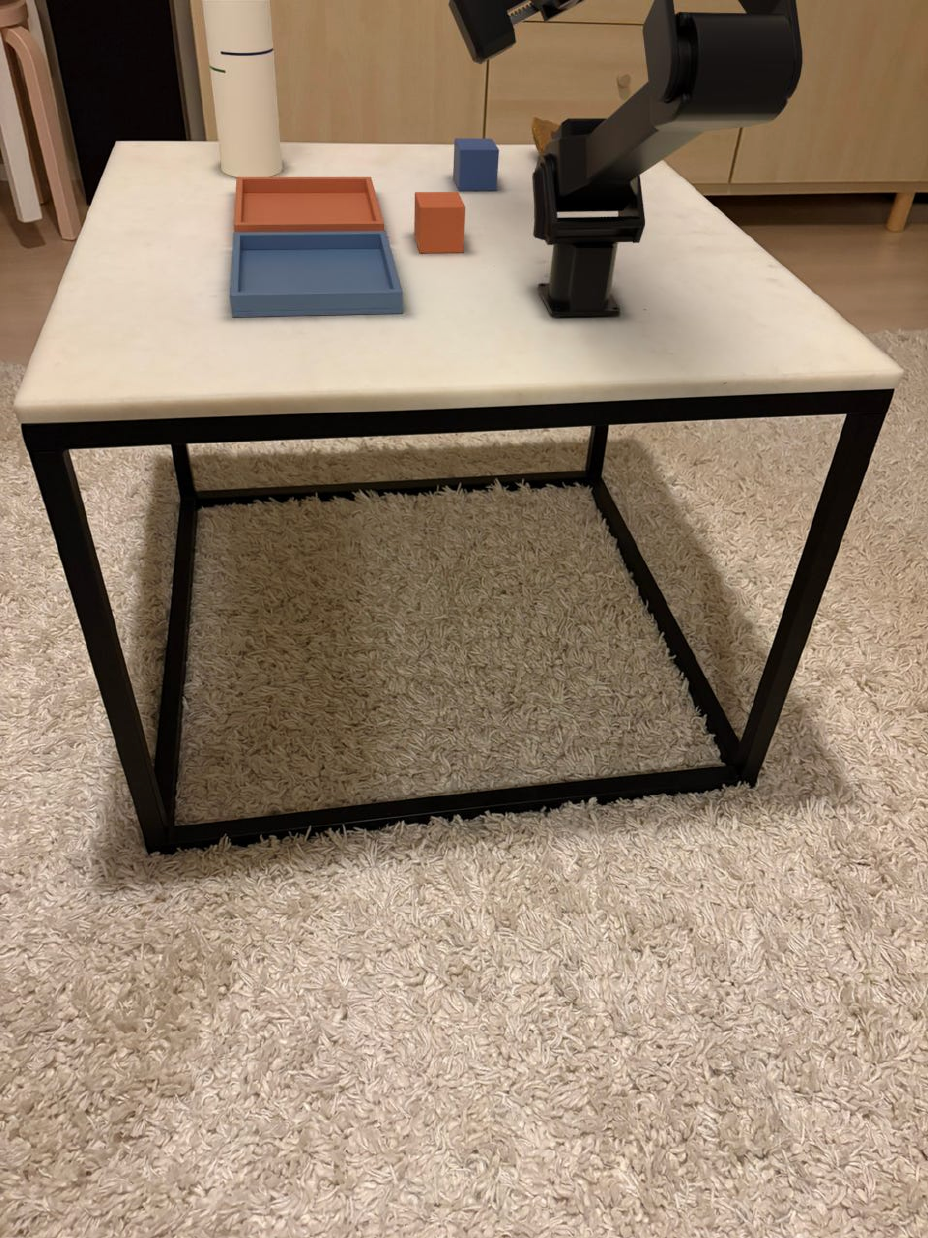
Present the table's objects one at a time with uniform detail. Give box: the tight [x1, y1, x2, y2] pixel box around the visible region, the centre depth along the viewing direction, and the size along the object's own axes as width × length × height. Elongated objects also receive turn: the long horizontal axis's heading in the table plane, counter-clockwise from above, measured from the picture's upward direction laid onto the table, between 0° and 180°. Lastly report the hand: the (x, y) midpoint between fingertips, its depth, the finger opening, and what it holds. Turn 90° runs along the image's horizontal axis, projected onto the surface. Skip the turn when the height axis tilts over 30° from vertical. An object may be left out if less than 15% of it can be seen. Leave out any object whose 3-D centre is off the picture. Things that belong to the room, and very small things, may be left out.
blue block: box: [452, 137, 500, 192], centre depth 110 cm, size 4×4×4 cm
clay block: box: [413, 191, 466, 254], centre depth 95 cm, size 4×4×4 cm
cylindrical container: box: [201, 0, 283, 178], centre depth 104 cm, size 7×7×25 cm
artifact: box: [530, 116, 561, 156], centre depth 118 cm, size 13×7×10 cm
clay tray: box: [233, 176, 385, 233], centre depth 100 cm, size 15×15×2 cm
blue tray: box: [229, 230, 404, 318], centre depth 88 cm, size 15×15×2 cm
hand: (527, 9), depth 94 cm, fingers open, 9 cm apart
